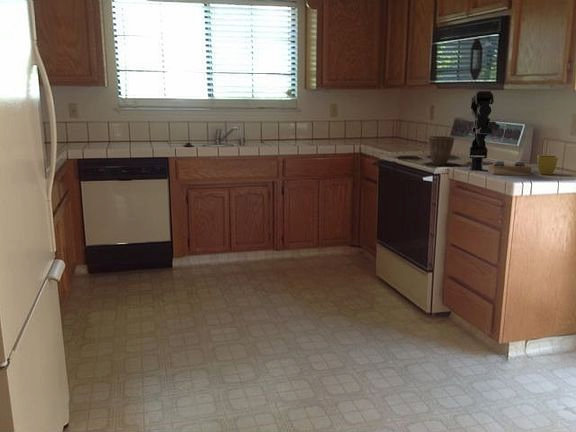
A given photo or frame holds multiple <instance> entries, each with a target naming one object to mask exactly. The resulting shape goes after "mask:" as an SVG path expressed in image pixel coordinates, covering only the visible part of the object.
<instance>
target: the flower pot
mask: <svg viewBox="0 0 576 432" xmlns="http://www.w3.org/2000/svg"><path fill="white" fill-rule="evenodd" d="M557 163H558V156H557V155H546V154H545V155H541V154H539V155H538V154H537V169H538V172H539V173H540V175H549V176H551V175H553V174H554V172H555V170H556V168H557Z"/></svg>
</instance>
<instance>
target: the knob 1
mask: <svg viewBox="0 0 576 432" xmlns="http://www.w3.org/2000/svg"><path fill="white" fill-rule="evenodd" d="M494 165H496V166H504V165H505V161H504V160H494Z"/></svg>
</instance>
